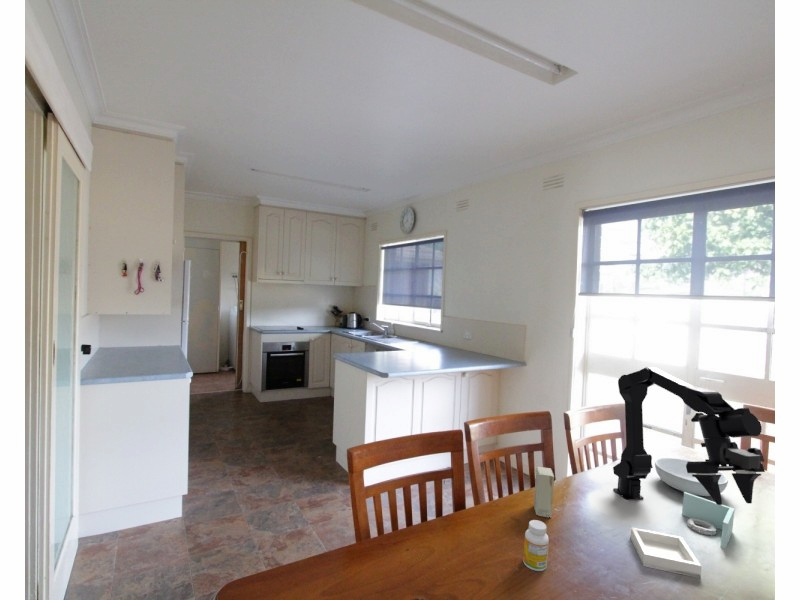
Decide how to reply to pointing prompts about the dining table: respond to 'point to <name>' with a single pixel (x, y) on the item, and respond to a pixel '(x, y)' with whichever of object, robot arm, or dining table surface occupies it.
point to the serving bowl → (683, 476)
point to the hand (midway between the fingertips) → (734, 504)
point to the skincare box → (543, 491)
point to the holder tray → (665, 552)
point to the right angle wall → (708, 516)
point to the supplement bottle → (536, 546)
